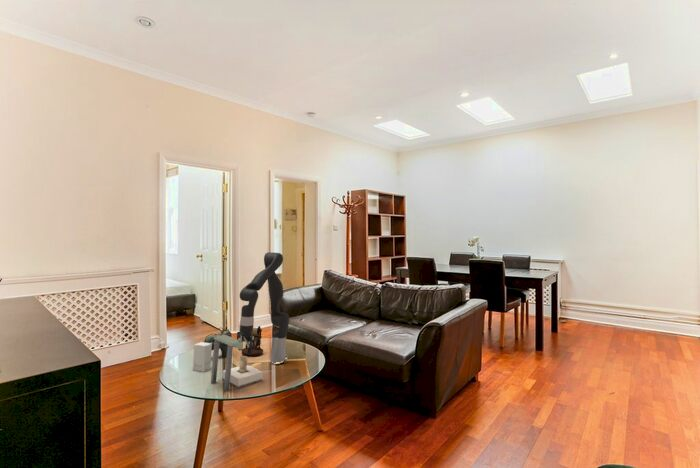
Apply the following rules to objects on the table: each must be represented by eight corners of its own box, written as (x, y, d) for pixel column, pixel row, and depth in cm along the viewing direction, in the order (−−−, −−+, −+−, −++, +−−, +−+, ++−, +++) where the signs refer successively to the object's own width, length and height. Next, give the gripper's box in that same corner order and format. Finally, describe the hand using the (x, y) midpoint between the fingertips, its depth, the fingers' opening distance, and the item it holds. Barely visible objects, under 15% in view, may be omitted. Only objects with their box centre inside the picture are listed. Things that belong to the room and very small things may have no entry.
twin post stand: (221, 379, 196) (225, 334, 197) (238, 388, 186) (242, 341, 187) (209, 382, 191) (213, 336, 192) (226, 392, 180) (231, 343, 181)
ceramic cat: (226, 354, 240) (229, 325, 240) (231, 356, 235) (234, 327, 236) (198, 359, 224) (201, 329, 225) (203, 362, 220) (206, 331, 221)
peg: (243, 376, 200) (244, 355, 201) (247, 378, 198) (248, 357, 198) (237, 378, 197) (238, 357, 198) (241, 380, 195) (242, 358, 195)
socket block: (245, 372, 209) (246, 364, 209) (262, 380, 199) (262, 371, 199) (221, 379, 196) (222, 370, 196) (237, 388, 186) (238, 378, 186)
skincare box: (210, 368, 211) (213, 343, 211) (203, 372, 204) (205, 346, 205) (199, 366, 213) (201, 341, 213) (191, 370, 206) (194, 344, 207)
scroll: (266, 352, 250) (268, 324, 251) (257, 358, 236) (260, 329, 237) (246, 349, 253) (249, 322, 253) (237, 355, 238) (240, 326, 239)
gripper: (259, 325, 197) (257, 353, 197) (245, 320, 206) (243, 347, 205) (248, 327, 191) (246, 356, 191) (234, 322, 200) (231, 350, 200)
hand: (244, 351), depth 198 cm, fingers open, 8 cm apart
